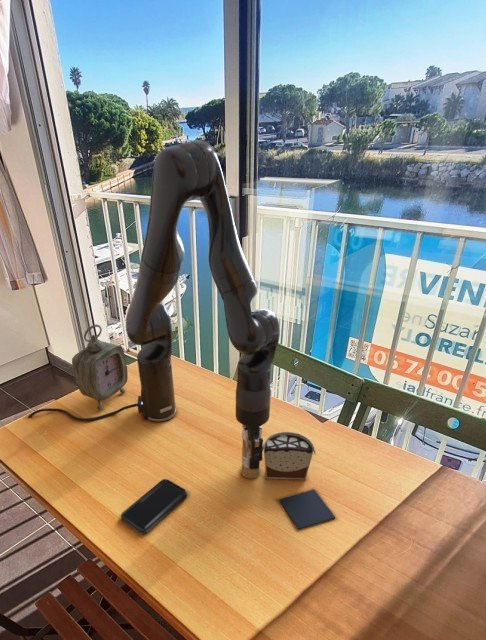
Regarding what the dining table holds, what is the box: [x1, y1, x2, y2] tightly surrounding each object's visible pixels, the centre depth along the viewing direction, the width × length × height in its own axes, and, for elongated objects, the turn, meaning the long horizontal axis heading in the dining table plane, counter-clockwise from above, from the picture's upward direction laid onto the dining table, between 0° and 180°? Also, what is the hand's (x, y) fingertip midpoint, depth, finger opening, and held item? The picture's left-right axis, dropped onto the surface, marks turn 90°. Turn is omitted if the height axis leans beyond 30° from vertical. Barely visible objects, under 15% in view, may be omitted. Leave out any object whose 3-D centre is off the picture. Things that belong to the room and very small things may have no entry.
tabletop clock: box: [71, 324, 128, 412], centre depth 134 cm, size 14×9×25 cm, turn 147°
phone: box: [120, 478, 188, 535], centre depth 103 cm, size 8×1×15 cm
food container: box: [262, 431, 316, 480], centre depth 108 cm, size 12×6×10 cm, turn 84°
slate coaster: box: [278, 488, 336, 530], centre depth 101 cm, size 9×9×1 cm
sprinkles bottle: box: [240, 427, 263, 479], centre depth 107 cm, size 5×5×14 cm
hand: (251, 456), depth 108 cm, fingers open, 8 cm apart
